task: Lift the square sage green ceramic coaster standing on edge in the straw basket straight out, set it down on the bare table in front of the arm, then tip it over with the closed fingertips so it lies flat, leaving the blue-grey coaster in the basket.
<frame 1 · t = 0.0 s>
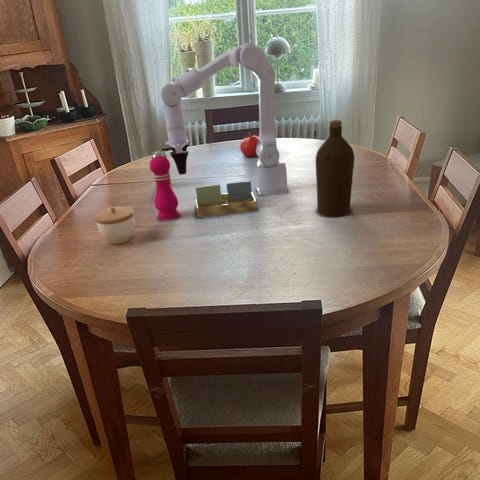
hand: (182, 170, 155), 10 cm above the table, tool pointing down, fingers open, 7 cm apart
coaster basket: (225, 208, 151), on the table
blue coaster: (240, 205, 151), resting on coaster basket
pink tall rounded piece: (164, 186, 177), on the table
pepper mill: (168, 217, 149), on the table
trinket box: (120, 239, 138), on the table
olive oil: (333, 211, 142), on the table
pomegranate: (252, 155, 202), on the table
sage coaster: (210, 209, 150), resting on coaster basket
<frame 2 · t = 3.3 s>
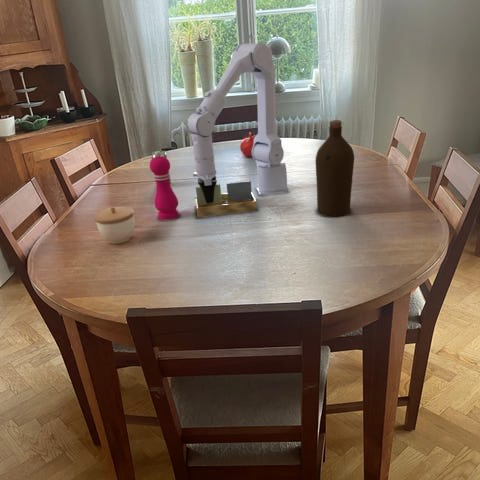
hand: (209, 201, 149), 3 cm above the table, tool pointing down, fingers closed on sage coaster, 1 cm apart
sage coaster: (210, 209, 150), resting on coaster basket, touching gripper
everything else where it was.
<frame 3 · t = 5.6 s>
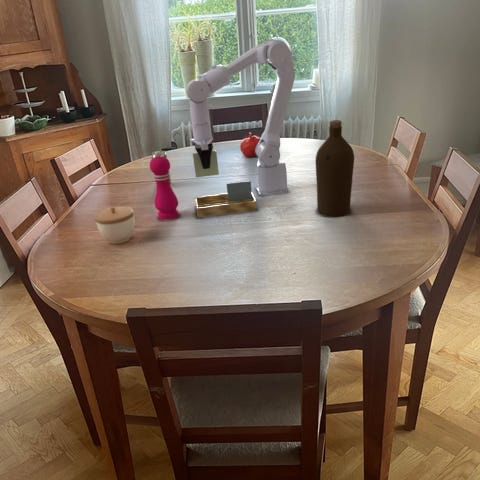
hand: (206, 167, 154), 10 cm above the table, tool pointing down, fingers closed on sage coaster
sage coaster: (207, 175, 155), point 8 cm above the table, touching gripper
everything else where it was.
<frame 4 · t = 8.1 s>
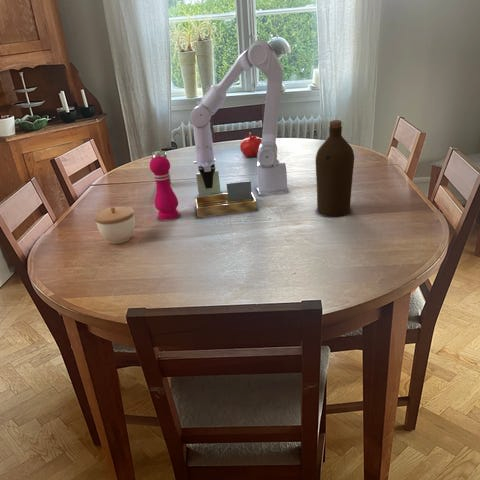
hand: (209, 187, 163), 2 cm above the table, tool pointing down, fingers closed
sage coaster: (209, 194, 164), on the table
everything else where it was.
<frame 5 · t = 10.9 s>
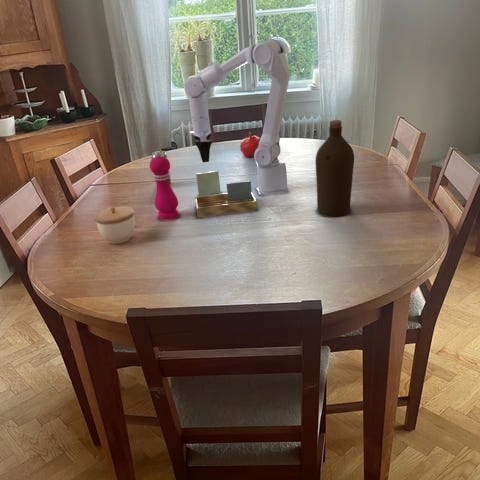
hand: (205, 159, 163), 10 cm above the table, tool pointing down, fingers open, 7 cm apart
nothing on the table moved.
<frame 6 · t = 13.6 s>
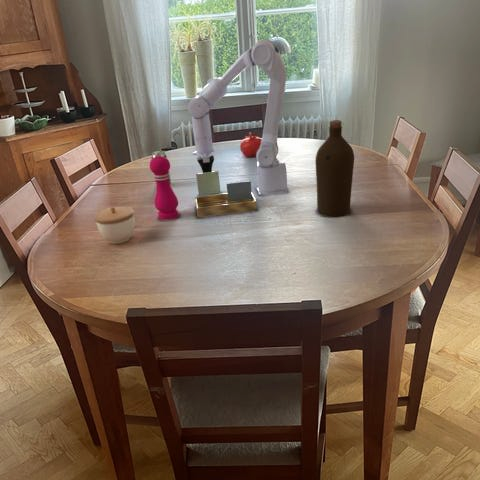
hand: (207, 178, 163), 5 cm above the table, tool pointing down, fingers closed
sage coaster: (209, 194, 164), on the table, touching gripper
everything else where it was.
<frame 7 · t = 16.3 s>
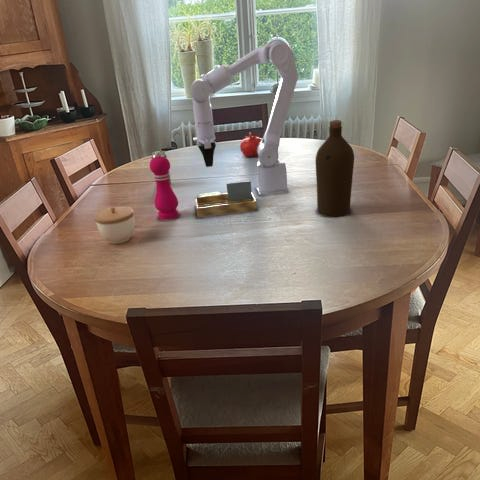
hand: (209, 166, 157), 10 cm above the table, tool pointing down, fingers closed
sage coaster: (209, 193, 163), on the table, tilted 90°
everything else where it was.
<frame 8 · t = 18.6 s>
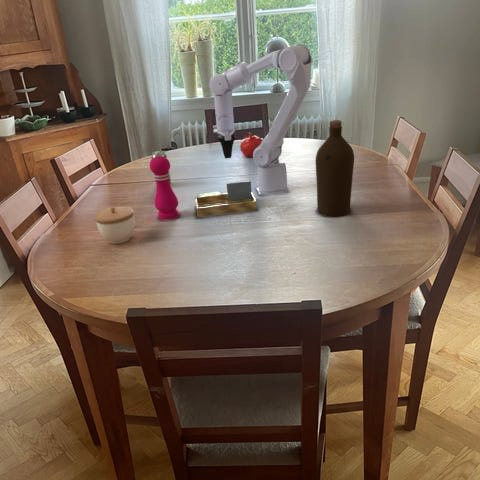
hand: (227, 157, 162), 10 cm above the table, tool pointing down, fingers closed
nothing on the table moved.
at the end: sage coaster inside the target area (1.2 cm from its centre), on the table; sage coaster tilted 90°; blue coaster moved 0.0 cm from its start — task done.
